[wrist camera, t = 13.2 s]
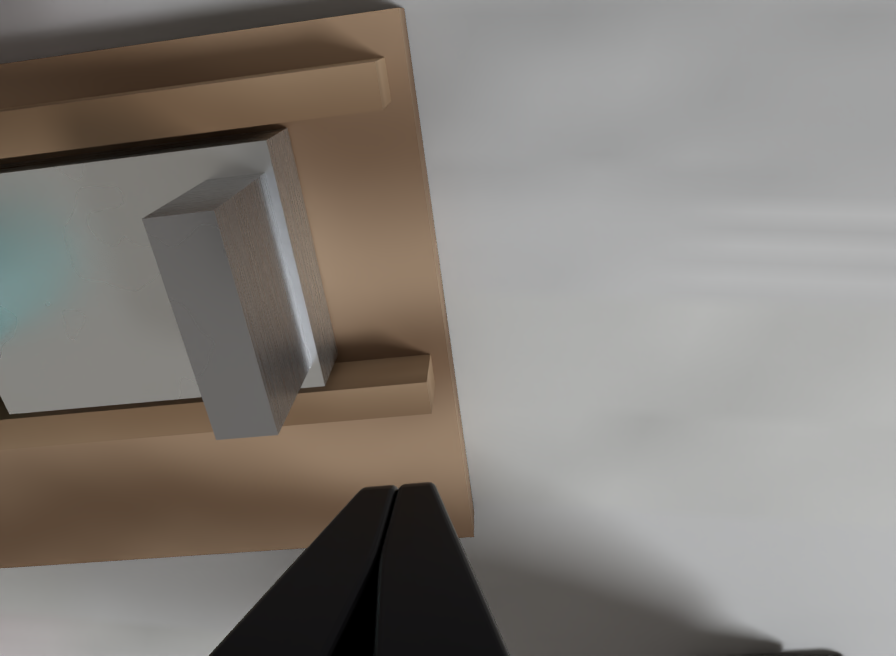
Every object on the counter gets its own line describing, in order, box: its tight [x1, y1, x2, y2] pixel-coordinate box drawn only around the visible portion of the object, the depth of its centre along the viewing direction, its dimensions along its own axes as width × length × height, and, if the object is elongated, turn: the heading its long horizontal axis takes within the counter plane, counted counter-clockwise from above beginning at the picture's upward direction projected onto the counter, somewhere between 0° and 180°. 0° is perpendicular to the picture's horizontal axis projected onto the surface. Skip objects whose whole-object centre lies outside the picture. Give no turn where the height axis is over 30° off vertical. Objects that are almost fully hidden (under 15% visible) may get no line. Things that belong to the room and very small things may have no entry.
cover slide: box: [0, 128, 338, 440], centre depth 16 cm, size 6×9×5 cm
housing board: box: [0, 8, 474, 568], centre depth 19 cm, size 16×18×3 cm
